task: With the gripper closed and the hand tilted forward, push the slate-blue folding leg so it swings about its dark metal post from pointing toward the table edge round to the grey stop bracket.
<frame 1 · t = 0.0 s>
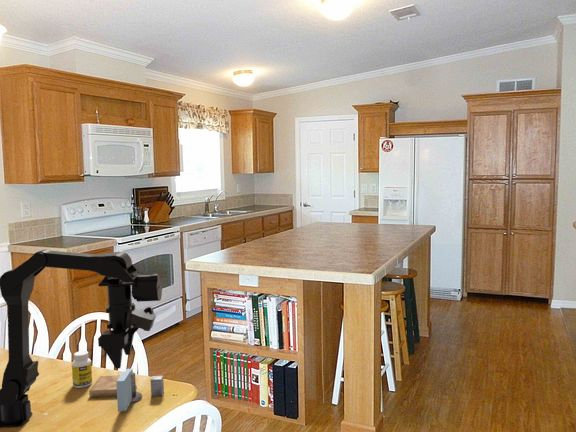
hand: (123, 361, 129), 15 cm above the table, tool pointing down, fingers open, 9 cm apart
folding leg: (125, 388, 136), point 5 cm above the table, hinge at 0.0°
supplement bottle: (82, 385, 150), on the table
stop bracket: (157, 394, 143), on the table
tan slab: (130, 398, 140), on the table
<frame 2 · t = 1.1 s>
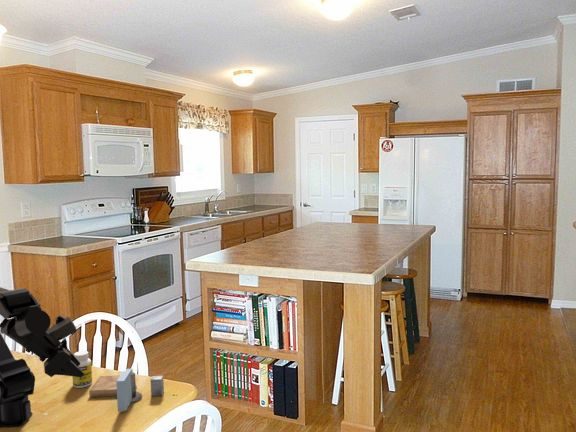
hand: (81, 370, 130), 12 cm above the table, tool tilted 45°, fingers open, 7 cm apart
nothing on the table moved.
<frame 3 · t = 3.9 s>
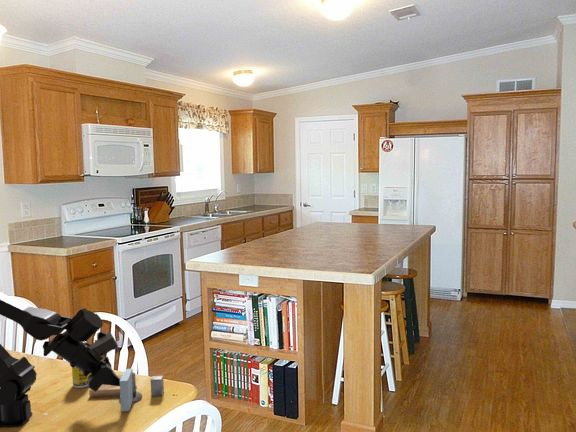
hand: (121, 384, 134), 7 cm above the table, tool tilted 45°, fingers closed
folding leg: (127, 388, 136), point 5 cm above the table, hinge at 5.6°, touching gripper
everything else where it was.
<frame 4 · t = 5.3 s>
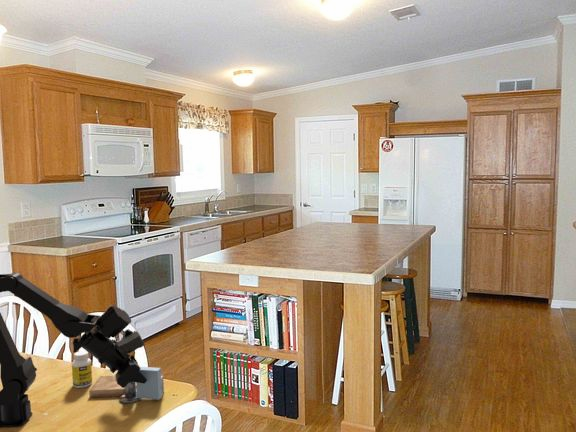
hand: (145, 381, 137), 6 cm above the table, tool tilted 45°, fingers closed
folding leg: (144, 382, 139), point 5 cm above the table, hinge at 75.7°, touching gripper
everything else where it was.
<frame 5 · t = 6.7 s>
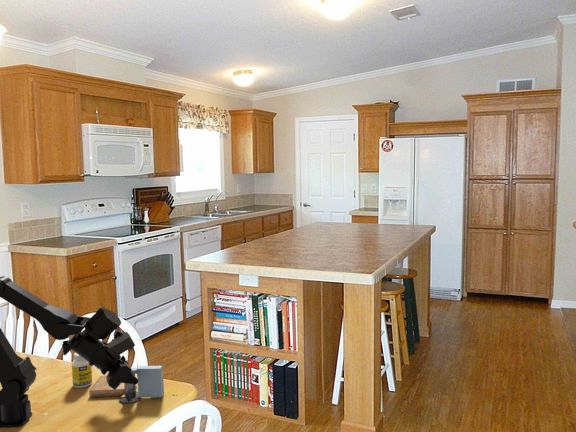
hand: (137, 382, 137), 6 cm above the table, tool tilted 45°, fingers closed
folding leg: (145, 381, 140), point 5 cm above the table, hinge at 85.8°
everything else where it was.
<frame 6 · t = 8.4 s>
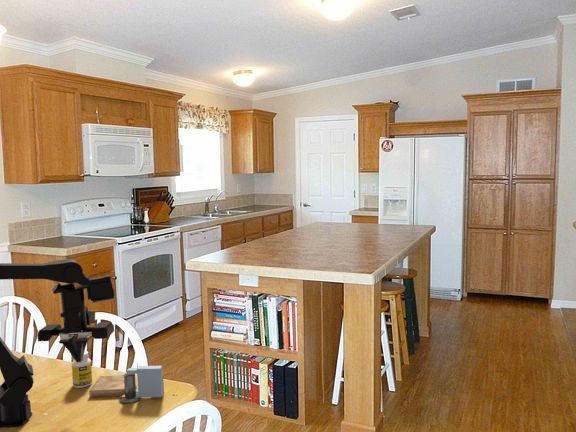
hand: (79, 361, 136), 12 cm above the table, tool pointing down, fingers closed
nothing on the table moved.
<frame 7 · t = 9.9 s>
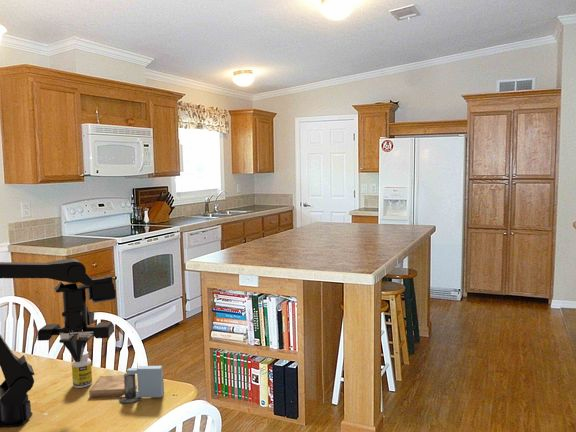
hand: (78, 361, 137), 12 cm above the table, tool pointing down, fingers closed
nothing on the table moved.
at the end: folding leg at +86° (first picture: +0°) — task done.
